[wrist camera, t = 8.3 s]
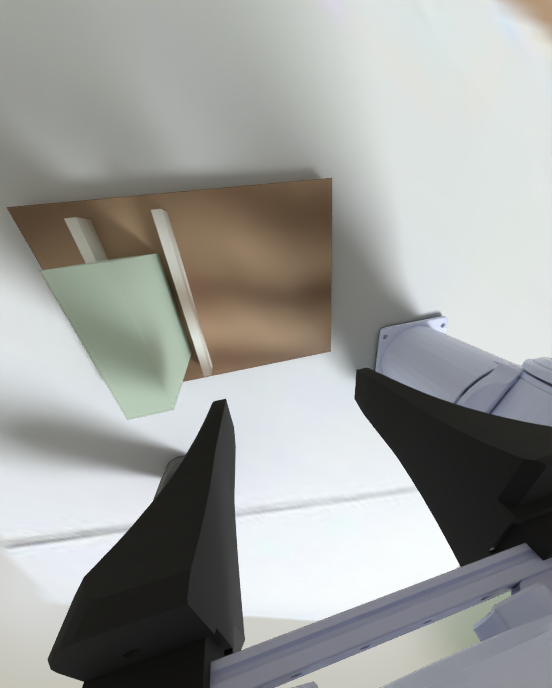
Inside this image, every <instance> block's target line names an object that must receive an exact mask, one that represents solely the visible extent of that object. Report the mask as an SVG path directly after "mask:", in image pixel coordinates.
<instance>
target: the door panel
mask: <svg viewBox="0 0 552 688" xmlns="http://www.w3.org/2000/svg"><path fill="white" fill-rule="evenodd" d="M40 272H41V274H42V276H43V277H44V279H45V281H46V282H47V284H48V286H49V288H50V289H51V291H52V293H53V294H54V296H55V298H56V299H57V301H58V303H59V305H60V306H61V308H62V310H63V311H64V313H65V315H66V317H67V318H68V320H69V322H70V323H71V325H72V327H73V328H74V330H75V332H76V334H77V335H78V337H79V339H80V340H81V342H82V344H83V345H84V347H85V349H86V351H87V352H88V354H89V356H90V357H91V359H92V361H93V363H94V364H95V366H96V368H97V369H98V371H99V373H100V374H101V376H102V378H103V380H104V381H105V383H106V385H107V386H108V388H109V390H110V391H111V393H112V395H113V397H114V398H115V400H116V402H117V403H118V405H119V407H120V409H121V410H122V412H123V414H124V415H125V417H126V419H127V420H129V419H134V418H139V417H143V416H148V415H152V414H157V413H161V412H166V411H170V410H174V407H175V404H176V401H177V398H178V395H179V391H180V388H181V385H182V382H183V379H184V376H185V373H186V369H187V366H188V363H189V360H190V357H191V354H192V353H191V350H190V347H189V344H188V341H187V338H186V335H185V332H184V329H183V326H182V323H181V320H180V317H179V314H178V311H177V308H176V305H175V302H174V299H173V296H172V293H171V290H170V287H169V284H168V281H167V278H166V275H165V272H164V269H163V266H162V263H161V260H160V257H159V254H158V253H156V254H148V255H140V256H132V257H124V258H117V259H111V260H104V261H98V262H92V263H86V264H79V265H73V266H67V267H61V268H54V269H48V270H42V271H40Z"/></svg>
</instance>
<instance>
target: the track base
mask: <svg viewBox="0 0 552 688" xmlns="http://www.w3.org/2000/svg"><path fill="white" fill-rule="evenodd" d="M7 209H8V210H9V212H10V214H11V216H12V217H13V219H14V221H15V222H16V224H17V226H18V228H19V229H20V231H21V233H22V235H23V236H24V238H25V240H26V241H27V243H28V245H29V247H30V248H31V250H32V252H33V254H34V255H35V257H36V259H37V260H38V262H39V264H40V266H41V267H42V269H43V270H48V269H54V268H61V267H67V266H73V265H79V264H86V263H92V262H98V261H104V260H111V259H117V258H124V257H132V256H140V255H148V254H156V253H158V254H159V257H160V260H161V263H162V266H163V269H164V272H165V275H166V278H167V281H168V284H169V287H170V290H171V293H172V296H173V299H174V302H175V305H176V308H177V311H178V314H179V317H180V320H181V323H182V326H183V329H184V332H185V335H186V338H187V341H188V344H189V347H190V350H191V353H192V354H191V357H190V360H189V363H188V366H187V369H186V373H185V376H184V379H183V382H184V381H189V380H194V379H199V378H204V377H208V376H213V375H218V374H223V373H228V372H233V371H238V370H243V369H247V368H252V367H257V366H262V365H267V364H272V363H277V362H282V361H287V360H291V359H296V358H301V357H306V356H311V355H316V354H321V353H326V352H331V233H332V178H326V179H315V180H304V181H293V182H282V183H271V184H260V185H249V186H238V187H227V188H216V189H205V190H194V191H183V192H172V193H161V194H149V195H138V196H127V197H116V198H105V199H94V200H83V201H72V202H61V203H50V204H39V205H28V206H17V207H7Z"/></svg>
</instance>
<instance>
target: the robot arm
mask: <svg viewBox="0 0 552 688" xmlns="http://www.w3.org/2000/svg"><path fill="white" fill-rule="evenodd" d="M447 321H448V318H447V317H445V316H440V317H435V318H430V319H425V320H419V321H414V322H409V323H404V324H399V325H394V326H389V327H384V328H382V329H381V331H380V335H379V343H378V351H377V359H376V368H375V371H374V370H371V369H369V368H363V369H359V370H357V372H356V386H355V400H356V402H357V404H358V405H359V407H360V409H361V410H362V412H363V414H364V415H365V416H366V418H367V419H368V420H369V422H370V423H371V424H372V426H373V427H374V428H375V429H376V431H377V432H378V433H379V434H380V436H381V437H382V438H383V439H384V441H385V442H386V443H387V444H388V446H389V447H390V448H391V450H392V451H393V452H394V454H395V455H396V456H397V458H398V459H399V461H400V462H401V464H402V465H403V467H404V468H405V470H406V472H407V473H408V475H409V476H410V478H411V479H412V481H413V483H414V484H415V486H416V487H417V489H418V491H419V492H420V494H421V496H422V497H423V499H424V501H425V502H426V504H427V506H428V508H429V509H430V511H431V513H432V514H433V516H434V518H435V520H436V521H437V523H438V525H439V527H440V529H441V531H442V532H443V534H444V536H445V538H446V540H447V542H448V543H449V545H450V547H451V549H452V551H453V553H454V555H455V557H456V559H457V561H458V563H459V565H460V566H461V567H460V568H457V569H455V570H452V571H449V572H447V573H444V574H442V575H439V576H436V577H434V578H431V579H428V580H426V581H423V582H420V583H418V584H415V585H413V586H410V587H407V588H405V589H402V590H399V591H397V592H394V593H391V594H389V595H386V596H384V597H381V598H378V599H376V600H373V601H370V602H368V603H365V604H362V605H360V606H357V607H355V608H352V609H349V610H347V611H344V612H341V613H339V614H336V615H333V616H331V617H328V618H325V619H323V620H320V621H318V622H315V623H312V624H310V625H307V626H304V627H302V628H299V629H297V630H294V631H292V632H289V633H286V634H283V635H281V636H278V637H275V638H273V639H270V640H268V641H265V642H262V643H260V644H257V645H255V646H252V647H249V648H246V649H244V650H241V649H242V646H243V644H244V641H245V636H244V626H243V614H242V602H241V591H240V578H239V565H238V552H237V538H236V522H235V505H234V488H235V448H236V446H235V434H234V426H233V422H232V419H231V415H230V412H229V408H228V405H227V401H226V399H223V400H218V401H214V402H213V403H212V405H211V408H210V410H209V412H208V414H207V417H206V419H205V421H204V423H203V425H202V427H201V429H200V431H199V433H198V435H197V436H196V438H195V440H194V442H193V444H192V445H191V447H190V449H189V450H188V452H187V454H186V455H185V457H184V459H183V460H182V462H181V463H180V465H179V466H178V468H177V469H176V471H175V472H174V474H173V475H172V477H171V478H170V479H169V481H168V482H167V483H166V485H165V486H164V487H163V489H162V490H161V492H160V493H159V494H158V495H157V497H156V498H155V499H154V501H153V502H152V503H151V504H150V506H149V507H148V508H147V509H146V510H145V511H144V513H143V514H142V515H141V516H140V517H139V519H138V520H137V521H136V522H135V523H134V524H133V526H132V527H131V528H130V529H129V530H128V531H127V532H126V534H125V535H124V536H123V537H122V538H121V539H120V540H119V541H118V542H117V543H116V544H115V545H114V547H113V548H112V549H111V550H110V551H109V552H108V553H107V554H106V555H105V556H104V557H103V558H102V559H101V560H100V561H99V562H98V563H97V564H96V565H95V566H94V567H93V568H92V569H91V570H90V571H89V573H88V574H87V575H86V576H85V577H84V578H83V580H82V582H81V584H80V586H79V588H78V590H77V592H76V594H75V596H74V598H73V601H72V603H71V605H70V608H69V610H68V613H67V615H66V617H65V620H64V622H63V624H62V627H61V629H60V631H59V634H58V636H57V638H56V641H55V643H54V645H53V648H52V650H51V653H50V655H49V657H48V662H49V665H50V668H51V670H53V671H55V672H57V673H59V674H62V675H65V676H68V677H71V678H75V679H77V680H80V681H84V684H83V687H82V688H275V687H277V686H280V685H282V684H285V683H287V682H289V681H292V680H294V679H297V678H299V677H302V676H304V675H307V674H309V673H311V672H314V671H316V670H319V669H321V668H323V667H326V666H328V665H331V664H333V663H336V662H338V661H340V660H343V659H345V658H348V657H350V656H353V655H355V654H357V653H360V652H363V651H365V650H367V649H370V648H372V647H375V646H377V645H379V644H382V643H384V642H387V641H389V640H392V639H394V638H397V637H399V636H401V635H404V634H406V633H409V632H411V631H414V630H416V629H419V628H421V627H423V626H426V625H428V624H431V623H433V622H435V621H438V620H440V619H443V618H445V617H448V616H450V615H453V614H455V613H457V612H460V611H462V610H465V609H467V608H470V607H472V606H475V605H477V604H479V603H482V602H484V601H486V600H489V599H492V598H494V597H496V596H499V595H501V594H504V593H506V592H509V591H511V590H512V591H511V595H512V596H510V597H508V598H506V599H505V600H503V601H501V602H499V603H498V604H495V605H494V606H493V608H492V610H491V611H490V612H489V613H488V614H487V615H486V616H485V617H484V618H483V619H481V620H480V621H479V622H477V623H476V624H475V625H474V626H473V628H474V631H475V633H476V635H477V636H478V638H479V639H480V641H481V642H479V643H477V644H474V645H472V646H470V647H468V648H465V649H463V650H461V651H458V652H456V653H454V654H452V655H449V656H447V657H445V658H443V659H440V660H438V661H436V662H434V663H432V664H430V665H427V666H425V667H423V668H421V669H419V670H417V671H414V672H412V673H410V674H408V675H406V676H404V677H402V678H400V679H398V680H395V681H393V682H391V683H389V684H387V685H385V686H383V687H381V688H552V358H547V357H542V358H536V359H527V360H525V361H524V363H523V365H522V366H521V365H516V364H514V363H512V362H509V361H507V360H505V359H502V358H500V357H498V356H495V355H493V354H491V353H488V352H486V351H484V350H481V349H479V348H477V347H474V346H472V345H470V344H467V343H465V342H463V341H460V340H458V339H456V338H453V337H451V336H449V335H446V334H444V332H445V328H446V325H447ZM384 336H385V337H384ZM383 337H384V338H383ZM292 688H318V686H317V684H316V683H315V682H310V683H306V684H303V685H300V686H296V687H292Z"/></svg>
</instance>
